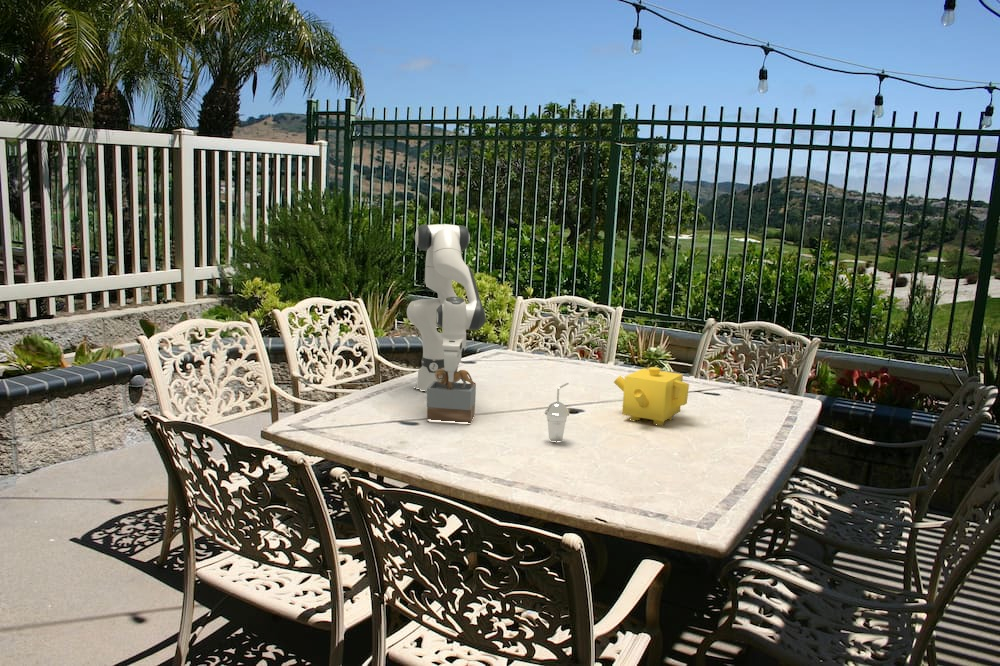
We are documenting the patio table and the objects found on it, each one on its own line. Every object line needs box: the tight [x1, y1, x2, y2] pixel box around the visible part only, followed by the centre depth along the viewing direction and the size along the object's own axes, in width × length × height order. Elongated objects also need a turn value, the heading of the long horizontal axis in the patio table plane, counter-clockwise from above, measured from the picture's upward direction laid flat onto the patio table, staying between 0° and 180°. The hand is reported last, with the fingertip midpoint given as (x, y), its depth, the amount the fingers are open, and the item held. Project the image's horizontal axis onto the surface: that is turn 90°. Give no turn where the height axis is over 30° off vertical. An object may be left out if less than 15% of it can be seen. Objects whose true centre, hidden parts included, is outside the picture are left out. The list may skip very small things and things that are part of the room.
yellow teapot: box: [613, 366, 690, 426], centre depth 311 cm, size 35×29×20 cm
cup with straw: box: [544, 382, 570, 442], centre depth 277 cm, size 8×9×20 cm
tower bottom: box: [426, 402, 476, 424], centre depth 301 cm, size 12×16×6 cm
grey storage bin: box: [426, 381, 477, 410], centre depth 299 cm, size 12×16×7 cm
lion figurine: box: [435, 369, 477, 390], centre depth 297 cm, size 15×5×9 cm, turn 115°
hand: (452, 378), depth 298 cm, fingers open, 8 cm apart
